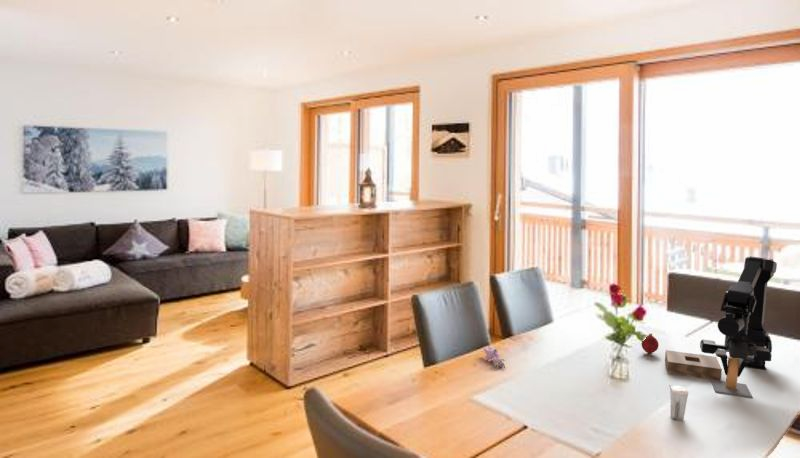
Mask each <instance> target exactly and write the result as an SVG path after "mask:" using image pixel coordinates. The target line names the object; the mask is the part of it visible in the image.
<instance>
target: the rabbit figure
mask: <svg viewBox="0 0 800 458" xmlns="http://www.w3.org/2000/svg"><path fill="white" fill-rule="evenodd" d="M483 351H484V353H485V354H486V355H485V358H486V360H487V362H489V363H490V362H493V363H492V364H493V367H494V368H496V370H499V368H502V369H505V370H506V365H505V363H504V361H506V359H504V358H500V354H499V352H498V349H497V348H494V347H493V346H487V347H486V346H483Z"/></svg>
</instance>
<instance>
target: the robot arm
mask: <svg viewBox="0 0 800 458" xmlns="http://www.w3.org/2000/svg"><path fill="white" fill-rule="evenodd" d="M744 259H745V260H744V264H743V269H742V272H741V274H740V276H739V278H738V280H737V282H736V283H734V284H731V285H730V286H729V288H728V290H727V291H725V294H724V297H723V300H722V303H721V307H720V311H721V312H725V315H724V316H723V317H722V318H720V319H719V321H718V322H717V329H718V331H719V333H720V334H722V335H724V345H722V344H716V342H715V340H712V339H711V340H710V339H701V340H700V341H699V349H700V352H702V353H704V354H712V355H714V354H715V357H716V358H719V359H720V360H721V364H722V368H723V371H724V375H725V376H727V372H728V368H727V365H728V357H729V356H730V357H731V358H739V368H738V378H739V377H740V376H741V375H742V373H743V371H744V369H745V368H752V369H758V370H759V369H760V370H767V366H766V362H772V356H773V355H772V351H773V343H772V342H773V341H772V339H771V336H770V335H769V332H770V330H769V328H768V326H767V325H766V323H765V317H766V316H765V313H766V302H767V293H768V283H769V281H770V280H771V279H772V278H773V277H774V276H775V273H776V271H777V268H778V267H777V265H778V264H777V262H776V261H774V259H773V258H767V257H760V256H759V257H758V256H747V257H745V258H744ZM727 353H728V355H729V356H728V355H727Z"/></svg>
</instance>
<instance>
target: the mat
mask: <svg viewBox="0 0 800 458" xmlns="http://www.w3.org/2000/svg"><path fill="white" fill-rule="evenodd" d="M710 383H711V385H712V386H713V390H714V392H715V393H717V394H726V395H731V396H737V397H744V398H750V399H753V395H752V393H751V390H750V388H748V386H747V384H745V383H740V382H737V388H736V389H735V390H732V389H728V388H726V387H725V386H726V380H722V379H721V380H714V379H710Z"/></svg>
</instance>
